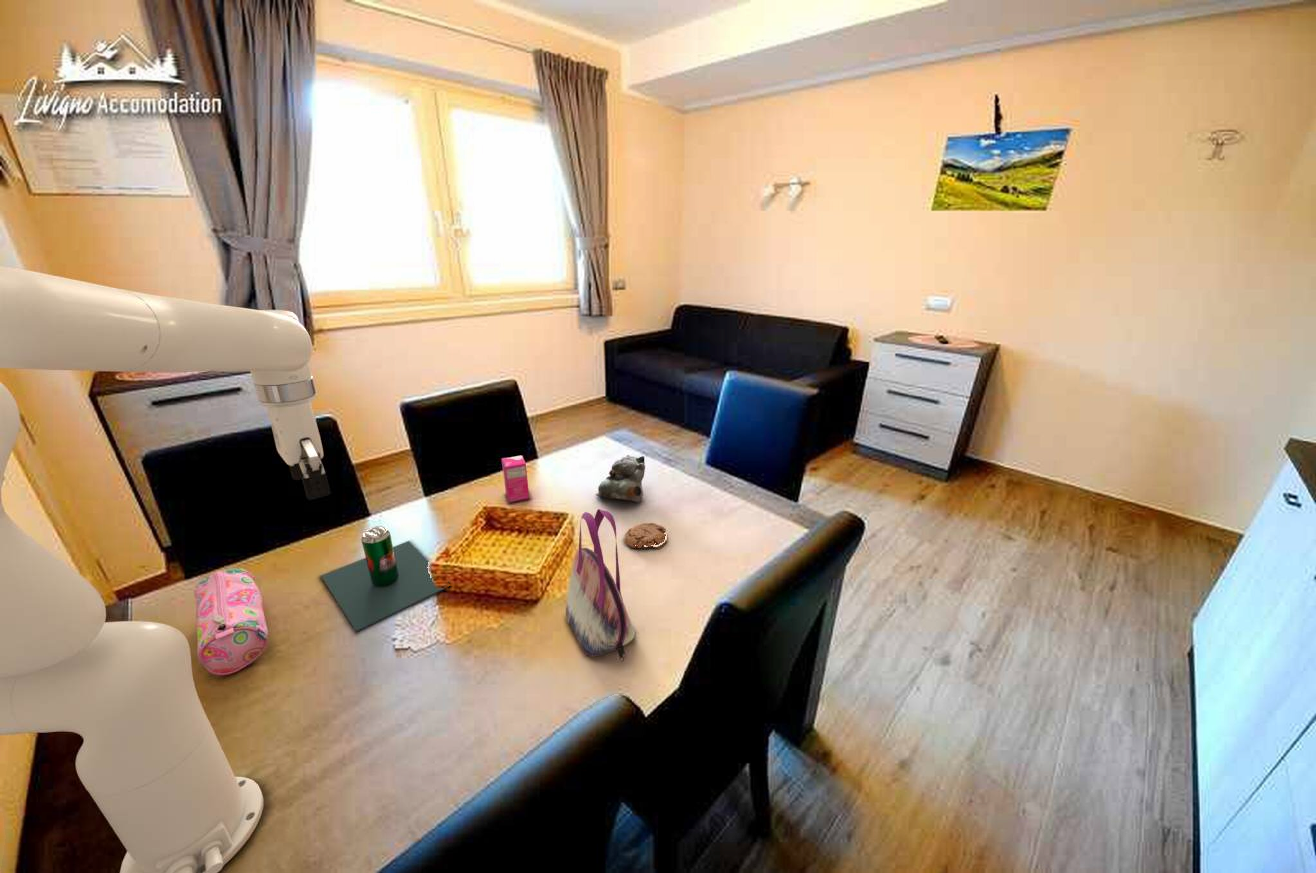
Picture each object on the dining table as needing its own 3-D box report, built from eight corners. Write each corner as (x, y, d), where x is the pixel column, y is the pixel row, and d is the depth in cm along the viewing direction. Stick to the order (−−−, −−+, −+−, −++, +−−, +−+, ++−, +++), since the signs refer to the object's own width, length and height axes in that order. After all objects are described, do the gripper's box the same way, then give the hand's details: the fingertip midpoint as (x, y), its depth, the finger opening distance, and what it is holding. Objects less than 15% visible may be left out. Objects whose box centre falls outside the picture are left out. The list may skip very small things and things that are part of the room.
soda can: (387, 589, 98) (376, 540, 94) (366, 586, 99) (354, 537, 94) (404, 574, 103) (394, 526, 98) (383, 570, 104) (373, 523, 99)
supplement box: (505, 494, 137) (501, 458, 132) (526, 490, 139) (523, 454, 135) (508, 504, 132) (504, 466, 127) (530, 500, 134) (527, 463, 130)
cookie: (617, 537, 119) (617, 527, 118) (651, 524, 125) (651, 514, 124) (640, 557, 111) (640, 546, 110) (675, 542, 117) (676, 532, 116)
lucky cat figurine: (588, 494, 138) (598, 446, 139) (623, 500, 145) (633, 455, 146) (613, 502, 126) (624, 450, 127) (650, 508, 132) (661, 459, 134)
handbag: (650, 658, 85) (654, 539, 75) (598, 681, 80) (595, 557, 70) (601, 586, 102) (600, 482, 92) (556, 601, 97) (549, 493, 88)
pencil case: (275, 659, 82) (261, 618, 79) (204, 689, 76) (185, 646, 73) (263, 593, 97) (250, 556, 93) (203, 614, 91) (187, 575, 88)
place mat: (452, 586, 100) (451, 584, 100) (356, 632, 88) (356, 630, 88) (408, 542, 114) (408, 540, 114) (321, 577, 102) (320, 575, 102)
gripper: (246, 384, 79) (273, 477, 85) (268, 408, 68) (297, 513, 74) (301, 376, 84) (323, 465, 90) (329, 398, 73) (352, 497, 79)
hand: (311, 486), depth 82 cm, fingers open, 9 cm apart
